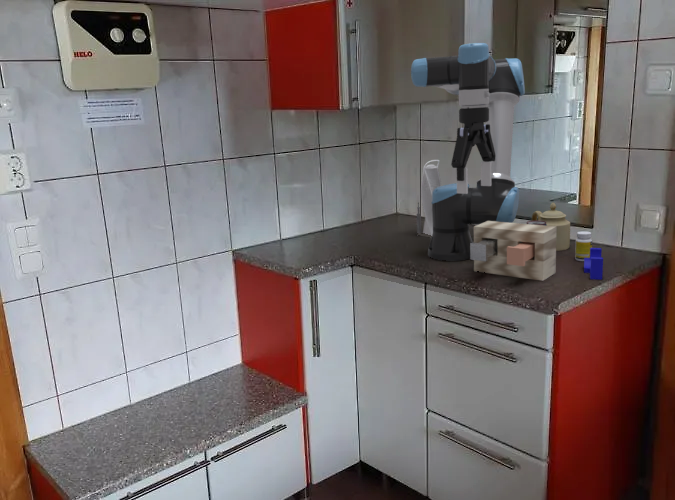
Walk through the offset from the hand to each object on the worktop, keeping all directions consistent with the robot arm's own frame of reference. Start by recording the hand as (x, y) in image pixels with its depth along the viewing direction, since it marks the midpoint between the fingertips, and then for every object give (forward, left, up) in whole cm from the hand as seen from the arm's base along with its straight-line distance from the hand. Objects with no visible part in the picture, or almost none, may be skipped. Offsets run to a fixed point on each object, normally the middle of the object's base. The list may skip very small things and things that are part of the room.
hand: (474, 189), depth 166 cm
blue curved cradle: (+22, +27, -27) cm, 44 cm away
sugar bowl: (0, +50, -27) cm, 57 cm away
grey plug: (-2, +13, -21) cm, 25 cm away
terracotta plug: (+8, +13, -21) cm, 26 cm away
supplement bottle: (+15, +39, -27) cm, 50 cm away
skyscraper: (-45, +50, -27) cm, 72 cm away
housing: (+3, +18, -27) cm, 32 cm away
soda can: (+3, +32, -27) cm, 42 cm away
